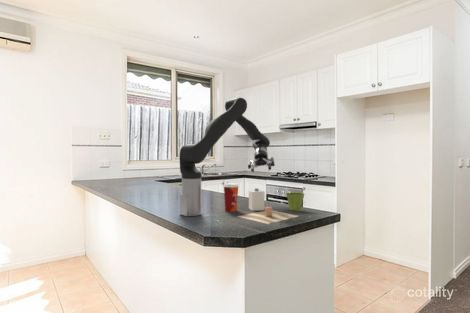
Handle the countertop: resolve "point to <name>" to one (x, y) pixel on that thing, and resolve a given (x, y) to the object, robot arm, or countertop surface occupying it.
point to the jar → (268, 211)
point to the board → (267, 220)
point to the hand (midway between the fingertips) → (261, 169)
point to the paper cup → (230, 196)
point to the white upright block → (256, 199)
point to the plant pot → (295, 201)
